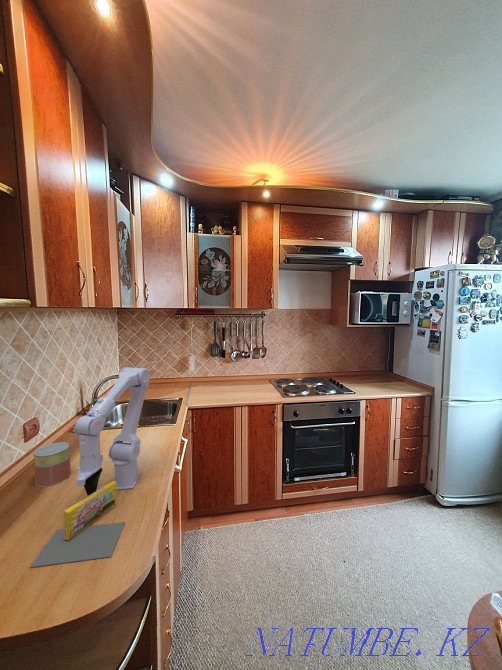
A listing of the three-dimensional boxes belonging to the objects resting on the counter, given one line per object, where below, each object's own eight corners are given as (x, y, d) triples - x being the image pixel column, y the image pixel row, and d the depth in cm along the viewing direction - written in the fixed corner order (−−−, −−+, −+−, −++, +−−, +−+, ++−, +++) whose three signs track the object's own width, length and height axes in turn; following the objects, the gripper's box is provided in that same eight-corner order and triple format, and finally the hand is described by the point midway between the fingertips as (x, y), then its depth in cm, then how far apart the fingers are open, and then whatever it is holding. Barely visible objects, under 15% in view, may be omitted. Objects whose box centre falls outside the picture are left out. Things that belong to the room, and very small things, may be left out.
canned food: (61, 467, 112) (60, 439, 111) (76, 474, 107) (75, 445, 106) (29, 481, 102) (27, 451, 101) (44, 490, 97) (42, 458, 96)
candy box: (68, 541, 74) (67, 512, 74) (63, 539, 75) (62, 510, 74) (117, 505, 89) (116, 481, 89) (112, 504, 90) (112, 479, 89)
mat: (56, 530, 78) (56, 529, 78) (125, 522, 81) (125, 521, 81) (29, 568, 66) (29, 567, 66) (111, 557, 69) (111, 556, 69)
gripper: (86, 443, 92) (88, 481, 92) (64, 466, 77) (66, 511, 78) (108, 442, 93) (109, 479, 93) (90, 464, 78) (92, 508, 79)
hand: (91, 494), depth 86 cm, fingers closed
